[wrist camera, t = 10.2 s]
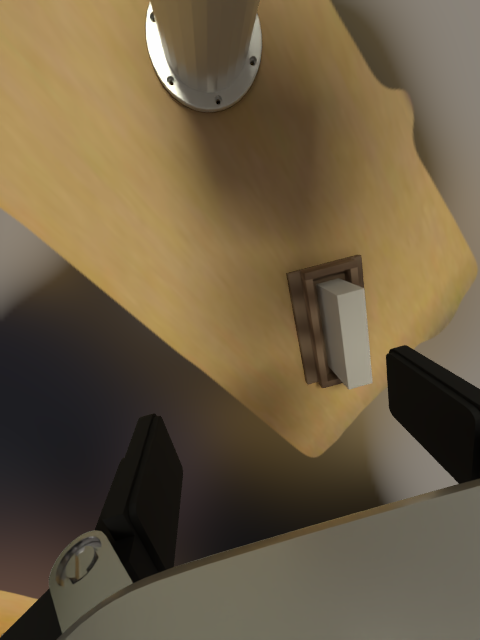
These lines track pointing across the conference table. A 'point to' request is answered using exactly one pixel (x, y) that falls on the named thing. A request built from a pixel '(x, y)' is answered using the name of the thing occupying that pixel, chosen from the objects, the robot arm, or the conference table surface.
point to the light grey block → (345, 331)
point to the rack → (318, 313)
